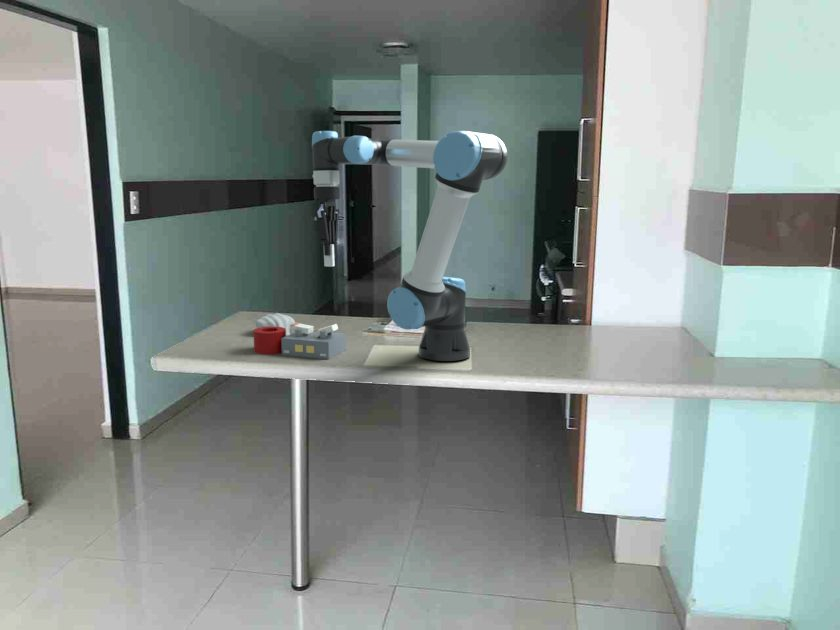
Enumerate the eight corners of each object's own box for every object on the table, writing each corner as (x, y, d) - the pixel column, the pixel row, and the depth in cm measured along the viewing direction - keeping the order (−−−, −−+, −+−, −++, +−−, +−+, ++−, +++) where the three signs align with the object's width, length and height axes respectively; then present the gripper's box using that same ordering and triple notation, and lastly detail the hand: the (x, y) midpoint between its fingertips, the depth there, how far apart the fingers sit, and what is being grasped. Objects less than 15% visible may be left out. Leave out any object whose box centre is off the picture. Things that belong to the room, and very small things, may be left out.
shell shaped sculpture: (259, 330, 229) (259, 311, 228) (297, 330, 230) (296, 311, 229) (252, 339, 217) (251, 319, 215) (292, 338, 217) (291, 319, 216)
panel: (345, 349, 204) (345, 326, 202) (328, 359, 192) (327, 334, 191) (301, 345, 208) (300, 322, 207) (281, 355, 197) (280, 331, 195)
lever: (275, 356, 196) (274, 334, 195) (247, 353, 199) (246, 331, 198) (306, 343, 212) (306, 322, 211) (280, 340, 216) (280, 320, 214)
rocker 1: (313, 331, 201) (313, 325, 201) (307, 333, 198) (308, 328, 197) (295, 327, 203) (295, 322, 202) (289, 330, 199) (289, 324, 199)
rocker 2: (338, 328, 198) (336, 323, 198) (333, 331, 195) (331, 325, 195) (321, 334, 200) (319, 328, 200) (315, 336, 197) (313, 331, 197)
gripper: (323, 186, 205) (326, 263, 209) (305, 185, 192) (308, 268, 197) (346, 185, 203) (349, 264, 207) (329, 185, 190) (332, 268, 195)
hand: (329, 266), depth 202 cm, fingers closed
